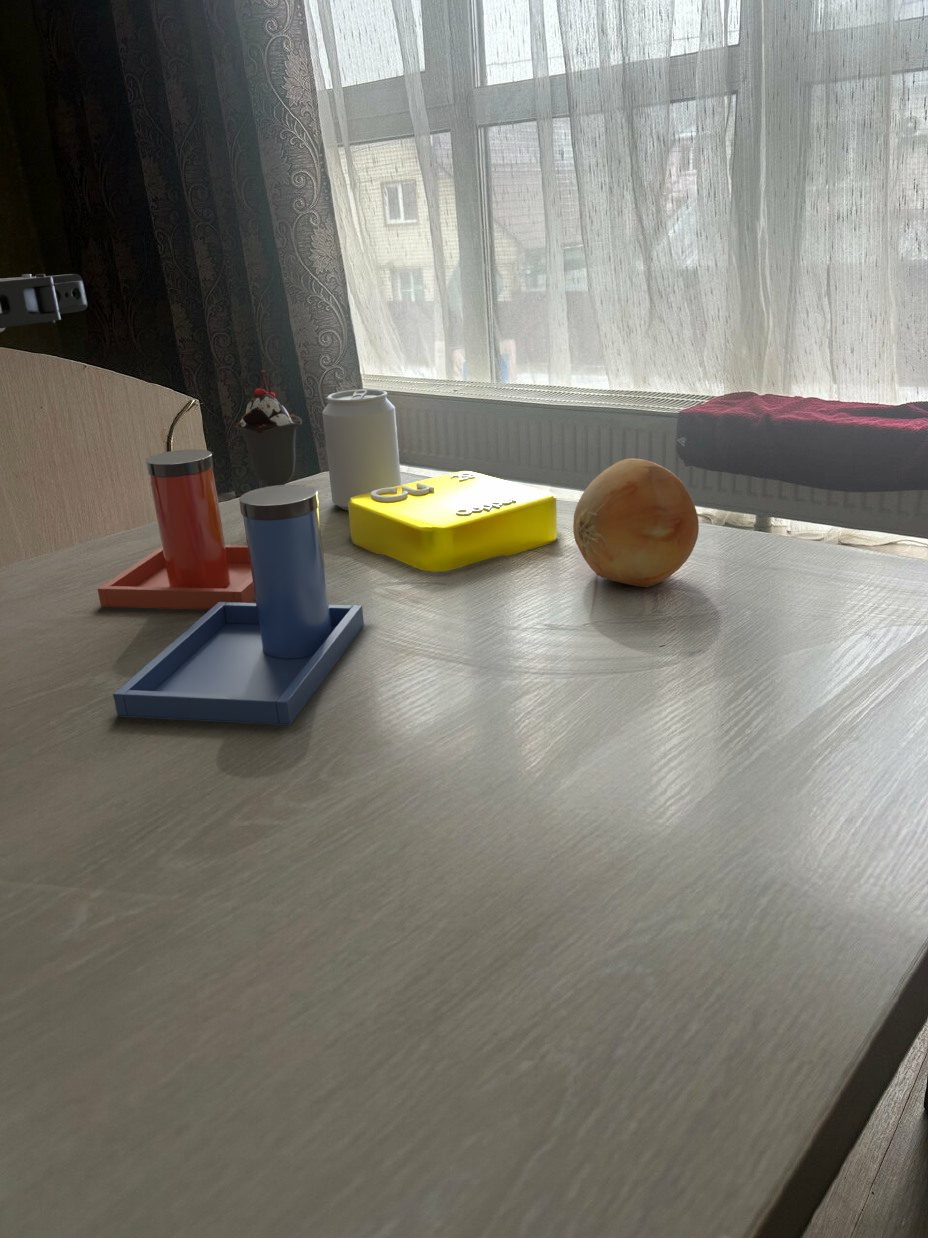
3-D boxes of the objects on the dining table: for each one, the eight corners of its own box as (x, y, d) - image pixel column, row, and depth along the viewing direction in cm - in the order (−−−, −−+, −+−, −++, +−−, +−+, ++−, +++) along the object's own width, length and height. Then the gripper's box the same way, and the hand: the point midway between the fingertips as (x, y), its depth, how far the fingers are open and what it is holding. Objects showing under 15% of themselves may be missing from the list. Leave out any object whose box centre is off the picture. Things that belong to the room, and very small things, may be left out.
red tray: (102, 612, 78) (97, 588, 78) (168, 565, 89) (164, 543, 88) (244, 616, 76) (240, 591, 75) (295, 567, 86) (293, 545, 85)
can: (322, 514, 101) (309, 399, 97) (347, 495, 108) (335, 386, 104) (390, 516, 100) (380, 398, 95) (411, 496, 106) (402, 385, 102)
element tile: (433, 581, 81) (429, 526, 79) (343, 542, 92) (338, 493, 91) (566, 540, 89) (566, 490, 87) (469, 509, 100) (466, 464, 99)
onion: (547, 585, 79) (545, 464, 75) (626, 554, 85) (627, 441, 81) (642, 615, 72) (644, 484, 68) (720, 579, 78) (727, 457, 74)
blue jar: (249, 658, 67) (226, 505, 63) (277, 628, 72) (257, 484, 68) (320, 661, 66) (301, 505, 62) (344, 631, 71) (327, 484, 66)
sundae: (291, 505, 105) (273, 365, 100) (324, 517, 101) (307, 370, 95) (237, 519, 102) (215, 374, 96) (269, 532, 97) (247, 379, 91)
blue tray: (118, 724, 60) (112, 694, 60) (222, 627, 74) (218, 601, 73) (291, 733, 58) (286, 702, 57) (365, 631, 72) (362, 605, 71)
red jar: (157, 595, 80) (132, 464, 76) (186, 573, 84) (164, 449, 80) (215, 597, 79) (193, 464, 74) (241, 575, 83) (222, 448, 79)
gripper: (-146, 237, 45) (103, 225, 59) (-324, 249, 51) (-59, 236, 64) (-102, 398, 48) (126, 352, 62) (-275, 393, 54) (-31, 352, 67)
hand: (31, 293), depth 63 cm, fingers open, 8 cm apart
